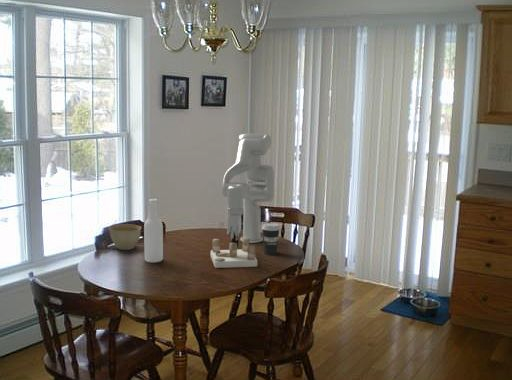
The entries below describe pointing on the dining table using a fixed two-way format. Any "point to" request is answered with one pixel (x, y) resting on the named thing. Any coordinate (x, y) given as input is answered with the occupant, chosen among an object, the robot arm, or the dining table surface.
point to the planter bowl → (125, 236)
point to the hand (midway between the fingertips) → (234, 247)
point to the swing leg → (232, 251)
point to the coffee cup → (270, 238)
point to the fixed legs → (245, 247)
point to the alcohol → (153, 235)
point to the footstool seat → (232, 260)
